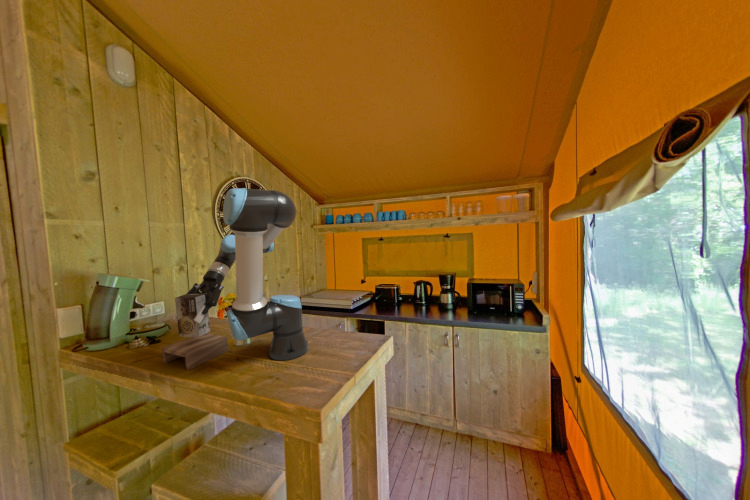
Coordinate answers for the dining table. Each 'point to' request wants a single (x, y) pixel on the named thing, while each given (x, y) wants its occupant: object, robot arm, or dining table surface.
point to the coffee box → (191, 315)
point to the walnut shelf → (196, 349)
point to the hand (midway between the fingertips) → (186, 321)
